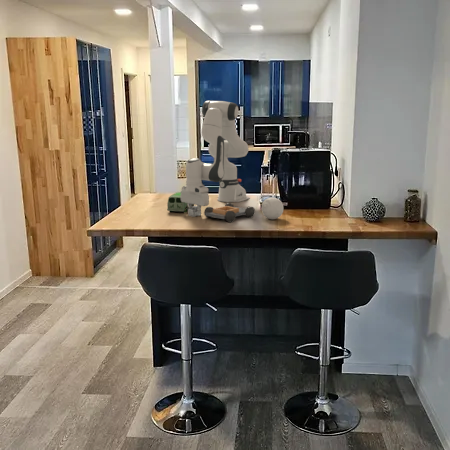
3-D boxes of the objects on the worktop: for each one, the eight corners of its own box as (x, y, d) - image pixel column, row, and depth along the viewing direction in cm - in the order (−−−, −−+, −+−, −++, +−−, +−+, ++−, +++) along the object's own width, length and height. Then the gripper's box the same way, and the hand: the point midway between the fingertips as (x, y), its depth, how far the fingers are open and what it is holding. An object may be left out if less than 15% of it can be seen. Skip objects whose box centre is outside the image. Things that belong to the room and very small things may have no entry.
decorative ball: (257, 217, 283) (257, 196, 280) (276, 215, 288) (276, 195, 285) (267, 222, 272) (268, 200, 270) (287, 220, 277) (287, 198, 274)
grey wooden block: (195, 214, 293) (195, 205, 292) (201, 215, 290) (200, 206, 289) (188, 215, 289) (187, 207, 288) (193, 216, 286) (193, 208, 285)
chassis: (232, 211, 299) (232, 201, 298) (255, 216, 287) (255, 205, 286) (202, 218, 282) (202, 207, 281) (226, 223, 270) (226, 212, 269)
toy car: (195, 205, 318) (195, 190, 316) (184, 214, 294) (183, 197, 292) (179, 205, 320) (178, 189, 318) (166, 213, 297) (166, 196, 294)
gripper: (177, 186, 291) (178, 210, 294) (202, 190, 277) (202, 215, 280) (185, 185, 295) (186, 208, 298) (210, 188, 281) (210, 213, 285)
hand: (194, 211), depth 289 cm, fingers closed on grey wooden block, 4 cm apart
